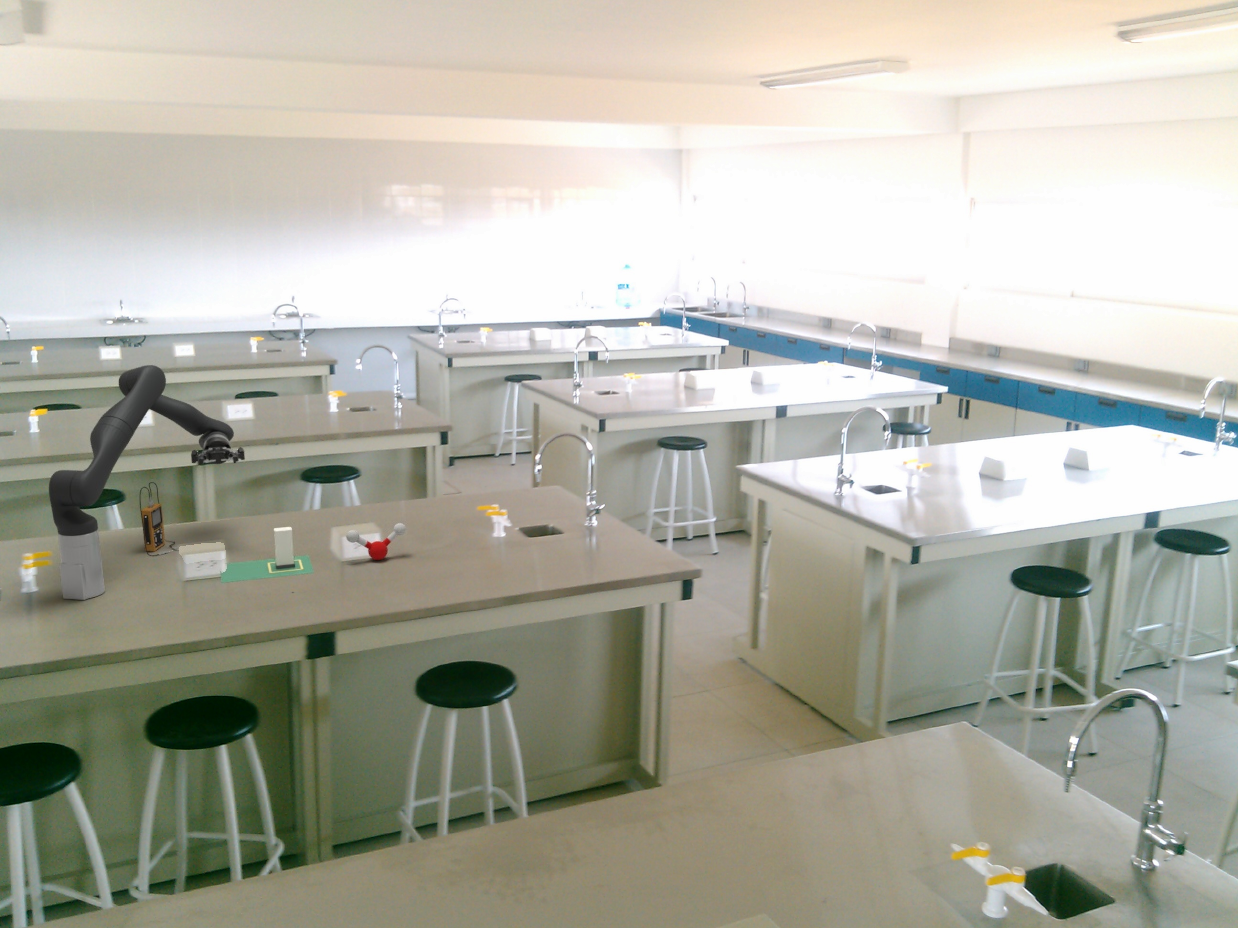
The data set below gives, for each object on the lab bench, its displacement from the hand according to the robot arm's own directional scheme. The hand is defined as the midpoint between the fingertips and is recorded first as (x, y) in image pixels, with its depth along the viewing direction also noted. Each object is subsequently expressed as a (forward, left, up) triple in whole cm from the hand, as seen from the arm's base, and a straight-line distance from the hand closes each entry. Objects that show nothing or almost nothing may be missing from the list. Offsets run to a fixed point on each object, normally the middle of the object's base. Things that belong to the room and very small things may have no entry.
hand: (218, 460), depth 282 cm
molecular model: (+10, -42, -30) cm, 53 cm away
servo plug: (-5, -20, -28) cm, 35 cm away
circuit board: (-7, -16, -30) cm, 35 cm away
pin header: (-5, -20, -29) cm, 35 cm away
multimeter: (+8, +23, -30) cm, 39 cm away
